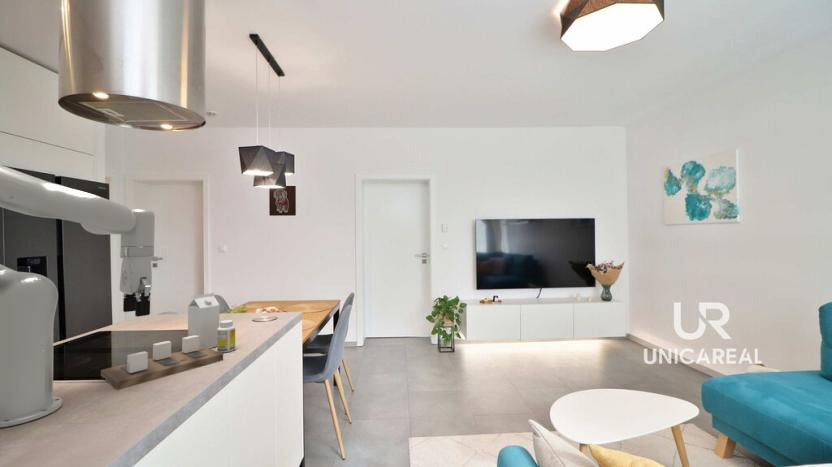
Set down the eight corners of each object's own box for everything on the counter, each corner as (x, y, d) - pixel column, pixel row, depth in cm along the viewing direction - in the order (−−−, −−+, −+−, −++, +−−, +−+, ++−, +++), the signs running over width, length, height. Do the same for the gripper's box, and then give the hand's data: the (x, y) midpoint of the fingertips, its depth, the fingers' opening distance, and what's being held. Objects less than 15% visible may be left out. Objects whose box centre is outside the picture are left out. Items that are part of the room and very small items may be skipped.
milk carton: (187, 348, 126) (188, 295, 126) (207, 343, 132) (207, 292, 132) (199, 351, 123) (200, 296, 123) (219, 346, 129) (219, 293, 129)
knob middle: (155, 360, 107) (156, 345, 107) (152, 358, 108) (153, 344, 108) (171, 356, 110) (171, 342, 110) (167, 355, 112) (168, 340, 112)
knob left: (130, 373, 97) (130, 356, 97) (127, 371, 98) (127, 355, 98) (147, 368, 100) (147, 352, 100) (144, 366, 102) (144, 351, 102)
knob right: (185, 353, 113) (185, 339, 113) (182, 351, 115) (182, 337, 115) (198, 350, 117) (198, 336, 117) (195, 348, 118) (195, 335, 118)
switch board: (117, 389, 92) (117, 381, 92) (100, 376, 100) (101, 369, 101) (223, 360, 114) (223, 353, 114) (202, 351, 123) (202, 345, 123)
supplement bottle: (233, 346, 128) (233, 318, 128) (236, 351, 124) (236, 321, 124) (216, 349, 125) (216, 320, 125) (218, 354, 120) (218, 323, 120)
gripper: (111, 252, 102) (109, 311, 102) (131, 254, 92) (130, 320, 92) (142, 251, 109) (141, 307, 108) (165, 253, 98) (163, 315, 98)
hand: (136, 313), depth 100 cm, fingers open, 9 cm apart
